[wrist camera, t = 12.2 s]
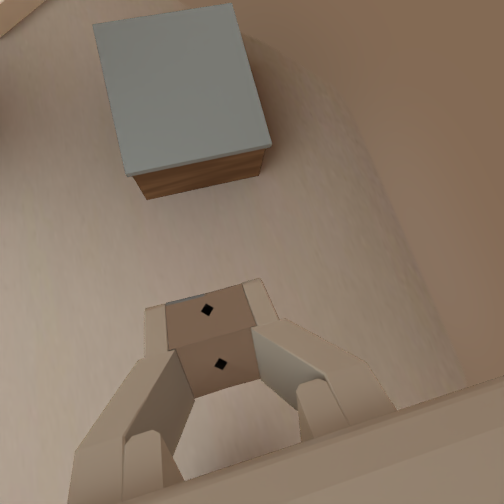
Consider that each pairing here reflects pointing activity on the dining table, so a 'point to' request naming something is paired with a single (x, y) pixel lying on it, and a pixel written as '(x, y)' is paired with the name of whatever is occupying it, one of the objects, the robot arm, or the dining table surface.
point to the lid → (180, 88)
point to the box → (200, 174)
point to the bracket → (15, 12)
